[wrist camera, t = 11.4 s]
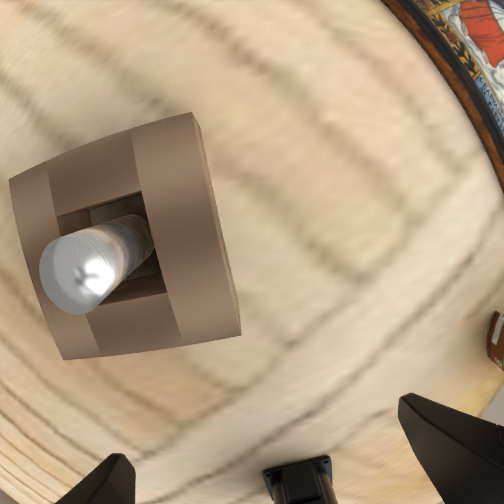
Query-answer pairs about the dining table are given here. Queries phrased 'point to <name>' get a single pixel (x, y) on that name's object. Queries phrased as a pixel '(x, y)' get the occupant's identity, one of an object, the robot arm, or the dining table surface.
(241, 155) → the dining table surface
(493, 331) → the food container
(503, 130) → the framed icon painting
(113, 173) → the square hollow frame
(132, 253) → the cylinder
